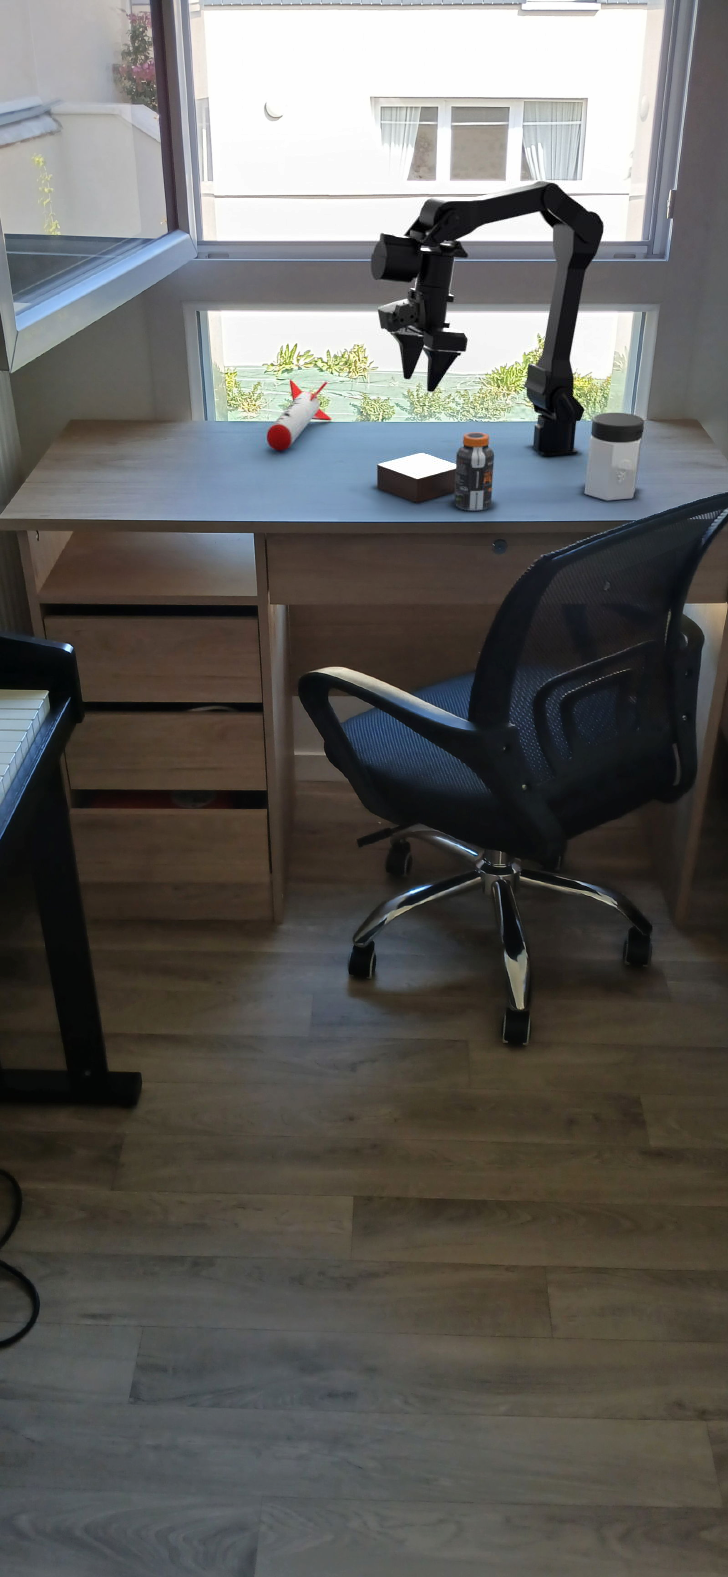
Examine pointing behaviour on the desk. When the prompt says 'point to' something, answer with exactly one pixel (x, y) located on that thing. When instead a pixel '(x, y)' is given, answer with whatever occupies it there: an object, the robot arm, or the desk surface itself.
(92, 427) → the desk surface
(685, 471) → the desk surface
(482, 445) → the pill bottle
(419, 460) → the block
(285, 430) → the model rocket
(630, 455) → the jar
